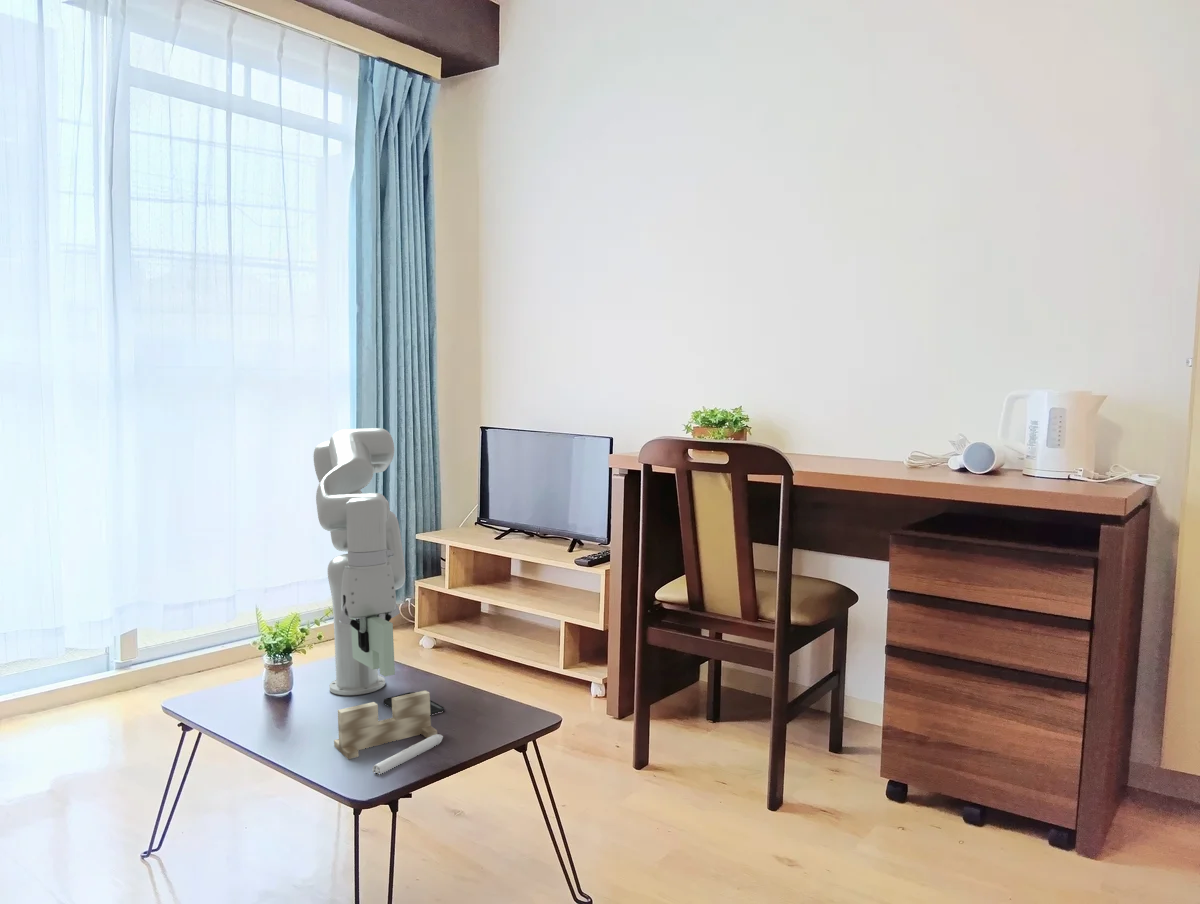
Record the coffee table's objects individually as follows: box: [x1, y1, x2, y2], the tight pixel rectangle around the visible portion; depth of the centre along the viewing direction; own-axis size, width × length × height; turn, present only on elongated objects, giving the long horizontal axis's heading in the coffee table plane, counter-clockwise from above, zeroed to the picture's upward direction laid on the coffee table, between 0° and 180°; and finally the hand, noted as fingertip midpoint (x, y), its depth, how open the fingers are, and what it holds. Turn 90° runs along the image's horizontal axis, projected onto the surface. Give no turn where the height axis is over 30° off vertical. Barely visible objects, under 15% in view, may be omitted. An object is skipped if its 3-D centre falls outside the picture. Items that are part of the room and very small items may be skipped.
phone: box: [383, 691, 445, 715], centre depth 190 cm, size 8×1×15 cm
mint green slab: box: [351, 615, 396, 678], centre depth 174 cm, size 18×2×10 cm, turn 35°
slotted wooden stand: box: [333, 690, 438, 760], centre depth 171 cm, size 18×8×8 cm, turn 125°
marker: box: [372, 733, 444, 775], centre depth 163 cm, size 18×2×2 cm, turn 150°
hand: (371, 649), depth 175 cm, fingers closed on mint green slab, 2 cm apart
